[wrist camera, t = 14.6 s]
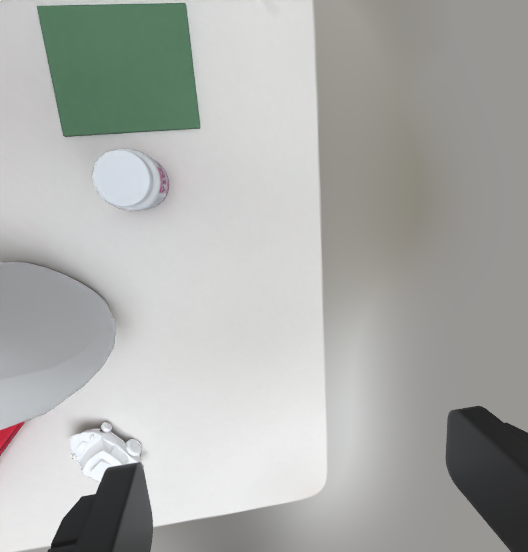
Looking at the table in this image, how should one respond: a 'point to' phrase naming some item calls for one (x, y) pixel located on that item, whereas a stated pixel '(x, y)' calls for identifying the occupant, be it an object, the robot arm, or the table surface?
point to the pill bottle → (130, 180)
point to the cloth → (120, 67)
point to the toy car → (102, 451)
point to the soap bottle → (47, 339)
